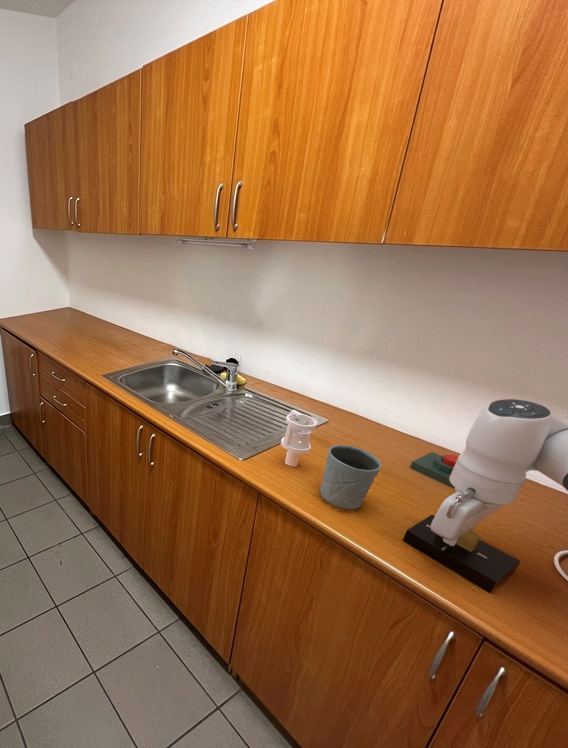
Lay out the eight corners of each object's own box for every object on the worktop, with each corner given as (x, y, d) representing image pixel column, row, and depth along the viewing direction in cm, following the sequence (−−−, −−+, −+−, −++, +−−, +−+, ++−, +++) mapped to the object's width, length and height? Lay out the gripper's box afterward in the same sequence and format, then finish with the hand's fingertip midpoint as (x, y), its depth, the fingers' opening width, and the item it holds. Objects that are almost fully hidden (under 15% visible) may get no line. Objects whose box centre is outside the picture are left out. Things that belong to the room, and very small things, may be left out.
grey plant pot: (316, 480, 102) (327, 440, 98) (363, 491, 98) (377, 451, 93) (318, 504, 94) (330, 462, 89) (370, 518, 90) (385, 474, 85)
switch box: (485, 482, 100) (492, 469, 99) (466, 494, 96) (472, 481, 95) (429, 458, 110) (434, 446, 109) (409, 468, 106) (414, 455, 105)
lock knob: (474, 549, 77) (482, 534, 76) (470, 552, 77) (477, 537, 75) (440, 530, 82) (446, 516, 81) (436, 533, 81) (442, 519, 80)
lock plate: (514, 572, 76) (521, 560, 75) (489, 593, 72) (496, 581, 71) (427, 524, 88) (432, 513, 86) (402, 540, 84) (407, 529, 82)
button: (463, 465, 101) (466, 460, 100) (456, 469, 100) (459, 463, 99) (446, 458, 104) (448, 452, 103) (439, 462, 103) (441, 456, 102)
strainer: (292, 454, 113) (303, 408, 107) (311, 468, 107) (324, 420, 101) (271, 457, 112) (281, 411, 106) (289, 472, 105) (301, 423, 100)
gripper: (478, 510, 67) (449, 569, 72) (530, 475, 75) (501, 531, 80) (433, 488, 72) (409, 545, 78) (486, 458, 80) (461, 511, 86)
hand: (456, 537), depth 79 cm, fingers open, 4 cm apart
